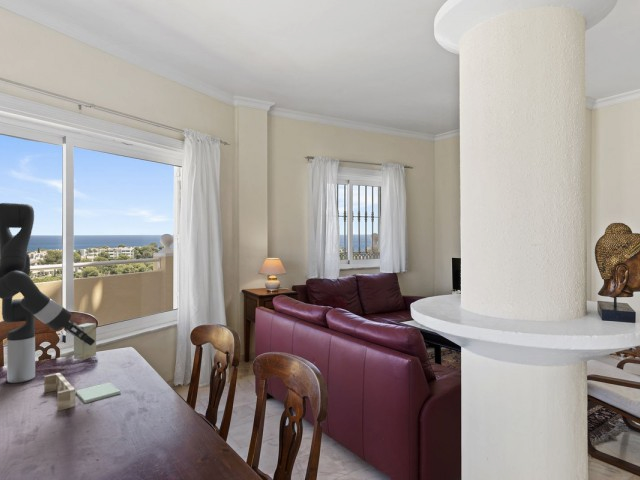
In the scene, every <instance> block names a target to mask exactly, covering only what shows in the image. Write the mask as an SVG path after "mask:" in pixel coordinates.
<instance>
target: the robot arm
mask: <svg viewBox="0 0 640 480" xmlns="http://www.w3.org/2000/svg"><path fill="white" fill-rule="evenodd" d="M34 221H35V211H34V207H33V206H32V205H31V204H28V203H12V202H0V299H1V317H2V320H3V322H4V323H19V322H25V323H24V324H23V325H21V326H19V327H17V328H14V329H12V330H9V331H8V332H7V334H6V360H7V361H6V371H7V372H6V373H7V374H6V376H7V377H6V379H7V380H6V381H7V383H11V384H15V383H16V384H17V383H24V382H27V381H30V380H33V379H34V378H35V377H36V334H35V333H36V329H35V327H36V326H35V324H36V323H35V322H36V319H38V320H39V321H40V322H42V324H44V325H46V326H47V327H49V328H50V329H51V330H53V331H55V332H56V331H59V330H61V329H62V330H63V331H65V333H66V334H67V333H68V334H70V335H71V336H73V338H74V337H78V338H80V340H83V341H84V342H86V343H87V344H89V345H90V346H91V345H92V344H93V343H94V342H95V340H93V339H92V338H91V337H89V336H88V335H87V333H84V332H83V329H81V328H80V327H79V326H77V325H78V324H77V323H76V322H75V321H73V320H71V318H72V317H73V314H72V312H71V311H69V310H68V309H67V308H65V307H64V306H62V305H61V304H60V303H58V302H57V301H55V300H53V299H51V298H50V297H49V296H47V295H46V294H44V293H43V292H42V291H41V289H39V288H38V286H37V285H36V284H35V282H34V281H33V280H32V278H31V276H30V272H31V258H30V255H29V254H28V252H27V251H28V247H29V242H30V239H31V236H32V232H33V227H34V223H35V222H34ZM11 228H12V229H20V230H19V231H18V232H17V233H16V234H15V235H14V236H13V234H12V232H11ZM19 293H20V294H21V295H22V298H19V299H18V298H17V299H13V297H15V296H16V295H18V294H19ZM70 320H71V321H70ZM80 333H83V335H82V336H81V337H79V334H80Z"/></svg>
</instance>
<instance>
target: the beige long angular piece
mask: <svg viewBox="0 0 640 480" xmlns="http://www.w3.org/2000/svg"><path fill="white" fill-rule="evenodd" d="M43 378H44V379H43V380H44V381H43V382H44V385H43V387H44V389H43V390H44V393H49V392H53V391H54V392H55V391H56V392H57V400H56V401H57V402H56V403H57V406H56V407H57V411H59V412H60V411H62V410H66V409H70V408H74V407H76V388H75V387H74V386H73V385H72V384H71V383H70V382H69V380H67V379H66V378H65V376H64V375H63V374H61V373H60V372H57V373H52V374H48V375H44V377H43Z"/></svg>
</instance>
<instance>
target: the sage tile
mask: <svg viewBox="0 0 640 480" xmlns="http://www.w3.org/2000/svg"><path fill="white" fill-rule="evenodd" d="M75 395H77V397H78V398H80V400H81V401H82V402H83V404H87V403H90V402H95V401H99V400H102V399H105V398H109V397H113V396H116V395H117V396H118V395H121V390H120V389H119V388H118V387H117V386H115V385H114V384H113V383H111V382H110V381H109V382H105V383H101V384H98V385H93V386H89V387H85V388H80V389H78V390H75Z"/></svg>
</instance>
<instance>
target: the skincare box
mask: <svg viewBox="0 0 640 480" xmlns="http://www.w3.org/2000/svg"><path fill="white" fill-rule="evenodd" d="M77 326H79V327H80V328H81V329H83V332H84V333H87V335H88V336H89V337H91V338H92V339H93V340H95V342H94V343H93V344H92V345H91V346H90V345H89V344H87V343H86V342H84V341H83V340H80V338H78V337H74V336H73V360H79V361H82V360H86V359H89V358H92V357H94V356H96V355H97V323H96V322H95V323H93V322H85V323H81V324H79V325H78V324H77ZM82 335H83V333H80V334H79V337H81V336H82Z"/></svg>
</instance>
